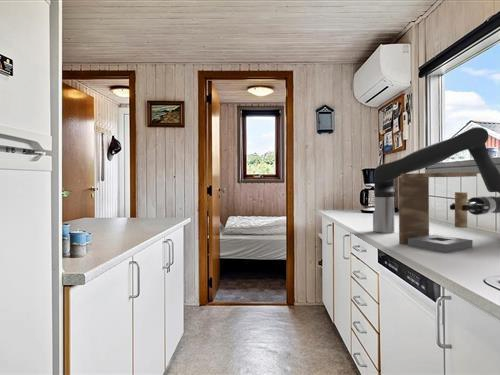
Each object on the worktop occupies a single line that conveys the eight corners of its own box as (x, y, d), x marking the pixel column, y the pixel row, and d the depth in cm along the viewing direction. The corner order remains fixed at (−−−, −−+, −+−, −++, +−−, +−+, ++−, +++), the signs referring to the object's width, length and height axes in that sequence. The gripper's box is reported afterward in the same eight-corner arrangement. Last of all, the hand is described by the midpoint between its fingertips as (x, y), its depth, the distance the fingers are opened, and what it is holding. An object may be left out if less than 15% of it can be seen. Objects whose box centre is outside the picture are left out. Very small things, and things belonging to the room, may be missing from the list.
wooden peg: (452, 226, 153) (452, 192, 153) (458, 226, 156) (459, 192, 155) (462, 228, 150) (463, 192, 149) (469, 227, 152) (469, 192, 151)
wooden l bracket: (399, 243, 154) (398, 173, 153) (424, 240, 162) (424, 173, 161) (450, 252, 135) (450, 172, 134) (476, 248, 142) (476, 172, 142)
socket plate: (408, 245, 149) (408, 238, 149) (433, 241, 157) (433, 234, 157) (446, 252, 135) (446, 244, 135) (472, 247, 143) (472, 240, 143)
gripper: (464, 195, 165) (440, 197, 157) (499, 197, 153) (474, 199, 145) (464, 212, 166) (440, 215, 157) (499, 215, 153) (474, 218, 145)
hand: (457, 207), depth 151 cm, fingers closed on wooden peg, 4 cm apart
